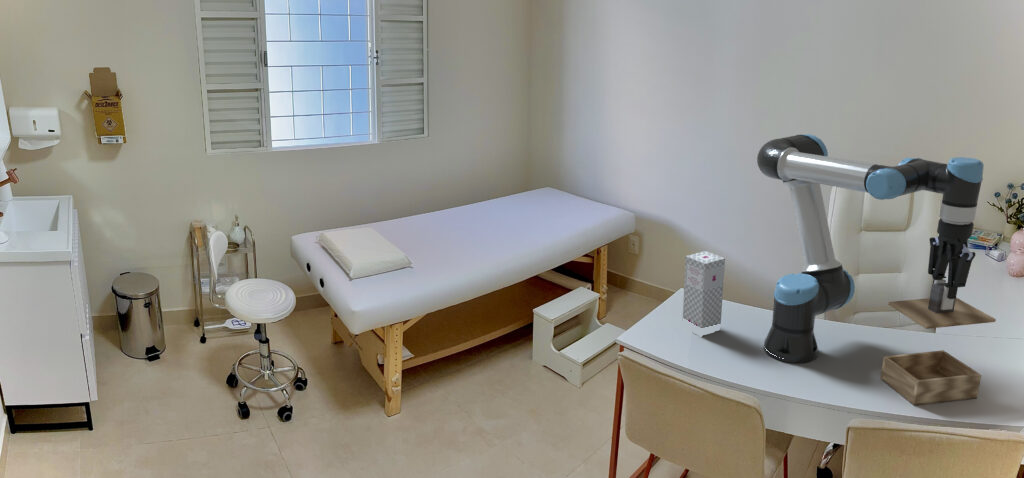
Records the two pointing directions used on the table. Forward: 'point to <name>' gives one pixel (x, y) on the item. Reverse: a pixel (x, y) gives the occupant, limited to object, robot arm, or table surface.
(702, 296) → the box
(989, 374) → the table surface
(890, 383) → the wooden box
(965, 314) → the lid
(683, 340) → the table surface
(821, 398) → the table surface
